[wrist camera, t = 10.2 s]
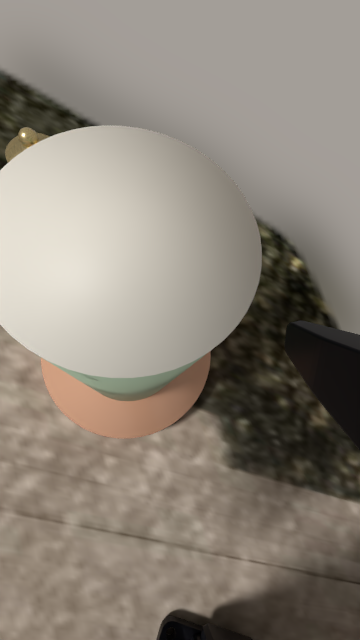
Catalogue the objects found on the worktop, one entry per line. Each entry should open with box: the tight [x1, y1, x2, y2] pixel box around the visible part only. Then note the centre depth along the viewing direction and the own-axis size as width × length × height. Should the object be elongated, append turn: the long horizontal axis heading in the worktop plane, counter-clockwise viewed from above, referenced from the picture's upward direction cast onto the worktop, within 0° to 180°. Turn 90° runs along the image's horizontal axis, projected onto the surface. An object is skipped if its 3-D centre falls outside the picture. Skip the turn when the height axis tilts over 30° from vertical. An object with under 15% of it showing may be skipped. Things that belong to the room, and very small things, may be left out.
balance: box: [5, 127, 50, 163], centre depth 18 cm, size 4×10×7 cm, turn 71°
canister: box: [0, 126, 262, 401], centre depth 12 cm, size 6×6×12 cm
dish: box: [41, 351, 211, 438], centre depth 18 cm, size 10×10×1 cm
